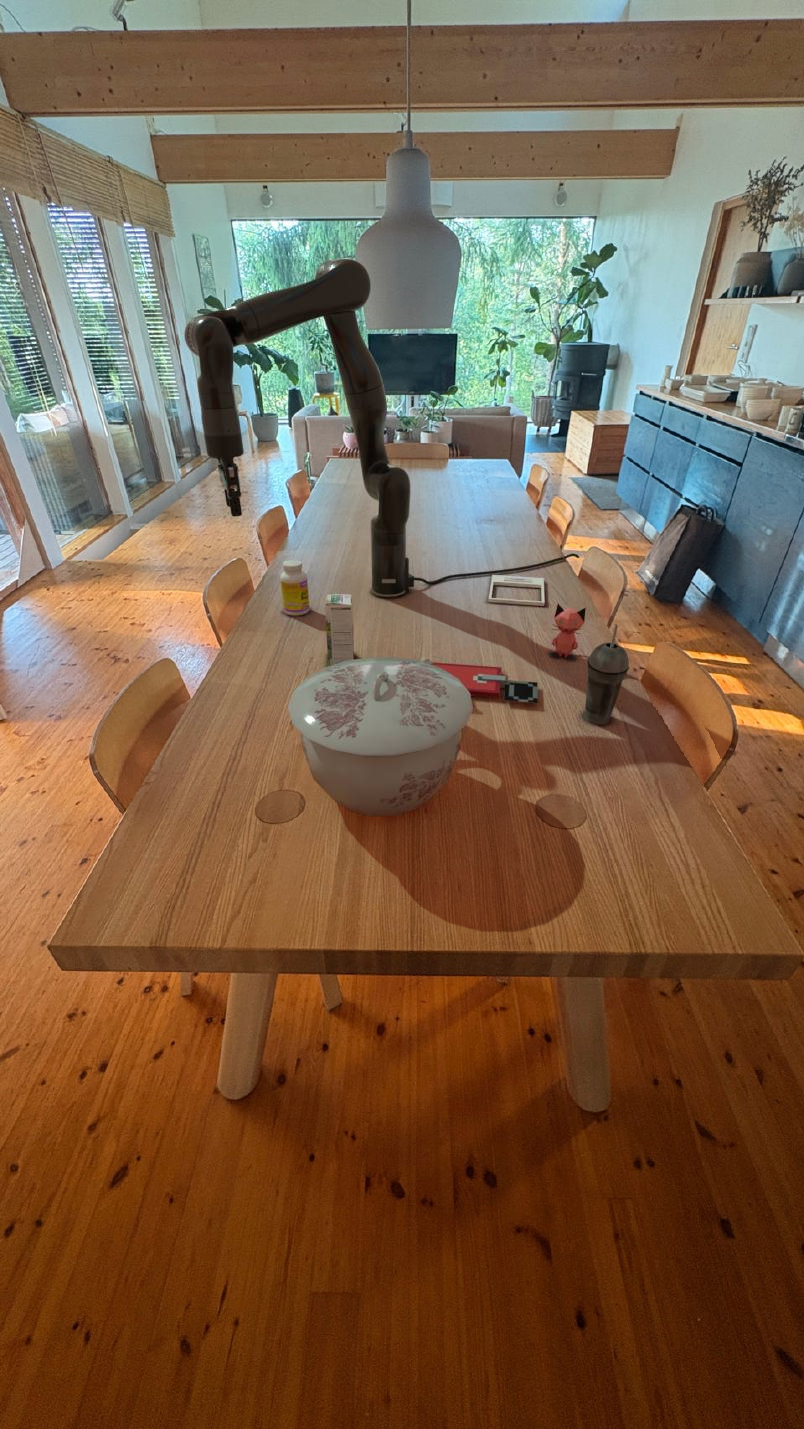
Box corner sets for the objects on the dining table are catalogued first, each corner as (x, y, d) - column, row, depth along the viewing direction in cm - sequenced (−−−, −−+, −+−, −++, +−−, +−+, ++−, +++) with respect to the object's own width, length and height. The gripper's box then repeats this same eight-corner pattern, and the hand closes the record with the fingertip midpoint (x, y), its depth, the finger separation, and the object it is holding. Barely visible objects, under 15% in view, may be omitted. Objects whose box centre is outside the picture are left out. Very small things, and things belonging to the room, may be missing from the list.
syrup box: (328, 654, 140) (324, 594, 132) (354, 653, 141) (351, 593, 133) (328, 666, 136) (323, 604, 128) (355, 665, 136) (352, 603, 128)
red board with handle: (537, 712, 120) (536, 675, 132) (538, 699, 118) (538, 663, 131) (384, 699, 124) (398, 665, 137) (384, 687, 123) (398, 654, 135)
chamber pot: (328, 868, 87) (317, 749, 75) (279, 759, 108) (265, 652, 96) (501, 814, 96) (514, 700, 85) (425, 723, 117) (428, 622, 106)
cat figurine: (545, 658, 139) (552, 608, 132) (550, 645, 144) (557, 597, 138) (577, 664, 137) (586, 613, 130) (581, 650, 142) (590, 601, 136)
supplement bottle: (304, 617, 157) (300, 568, 150) (280, 615, 158) (274, 566, 151) (313, 607, 163) (309, 559, 156) (289, 605, 164) (284, 557, 157)
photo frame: (543, 577, 178) (544, 602, 163) (543, 581, 178) (544, 606, 163) (492, 574, 180) (488, 598, 165) (492, 577, 180) (488, 602, 165)
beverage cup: (617, 711, 121) (639, 616, 110) (615, 731, 115) (638, 633, 104) (579, 705, 123) (596, 611, 112) (575, 724, 117) (593, 627, 106)
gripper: (245, 435, 124) (256, 517, 133) (236, 425, 135) (246, 501, 144) (206, 438, 122) (220, 521, 130) (200, 427, 133) (213, 504, 142)
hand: (234, 510), depth 137 cm, fingers open, 8 cm apart
